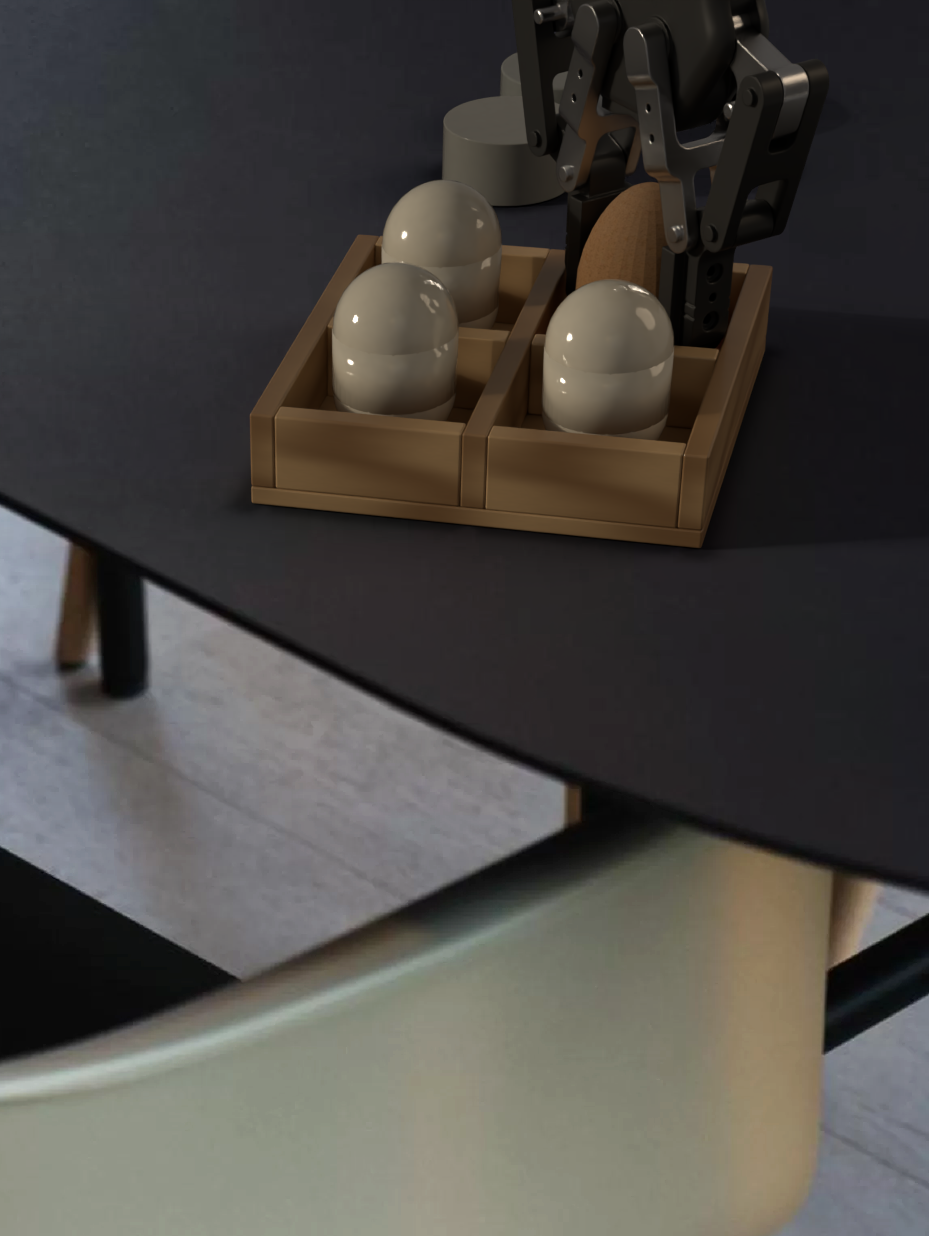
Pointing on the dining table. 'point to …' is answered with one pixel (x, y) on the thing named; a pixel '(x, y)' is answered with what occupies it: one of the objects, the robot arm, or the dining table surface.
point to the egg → (627, 240)
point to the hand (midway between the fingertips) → (641, 322)
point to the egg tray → (509, 425)
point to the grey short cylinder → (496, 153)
